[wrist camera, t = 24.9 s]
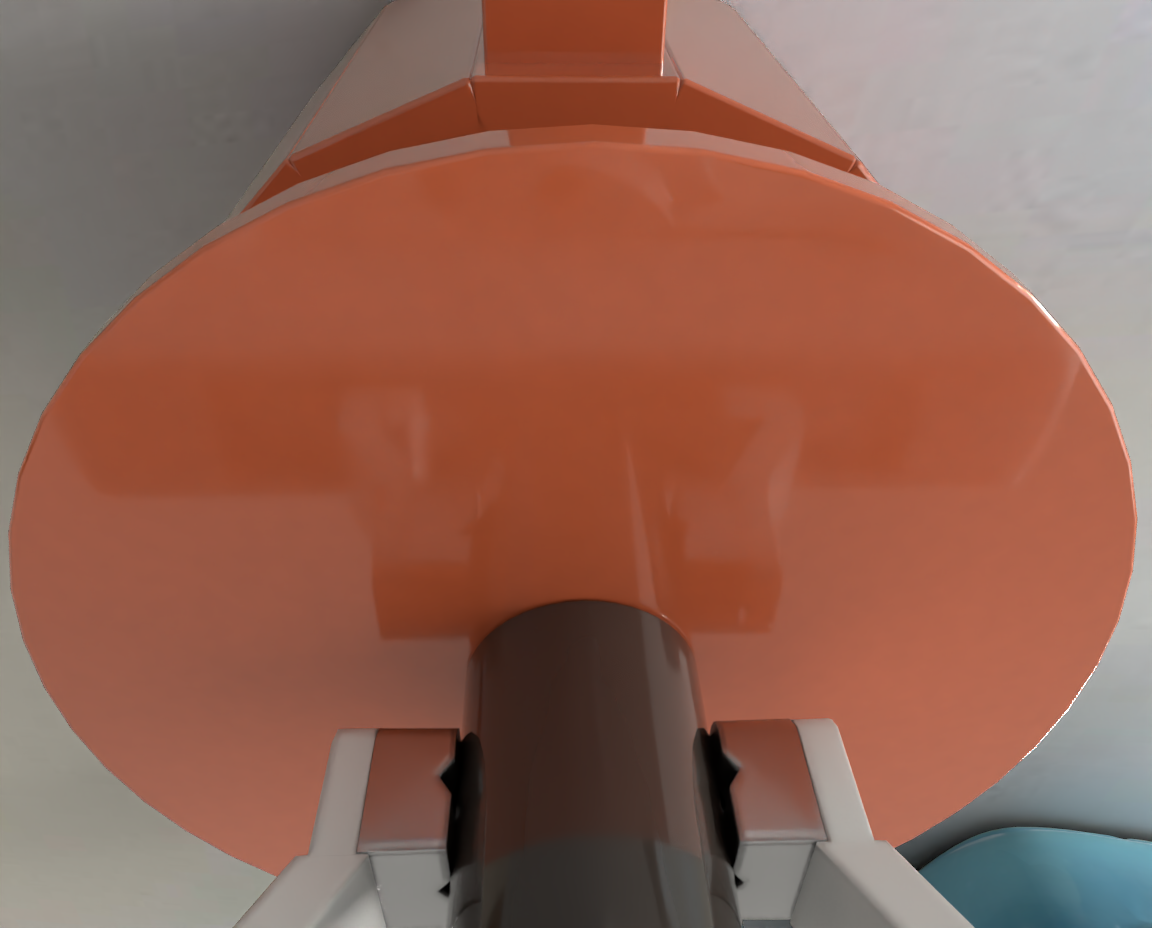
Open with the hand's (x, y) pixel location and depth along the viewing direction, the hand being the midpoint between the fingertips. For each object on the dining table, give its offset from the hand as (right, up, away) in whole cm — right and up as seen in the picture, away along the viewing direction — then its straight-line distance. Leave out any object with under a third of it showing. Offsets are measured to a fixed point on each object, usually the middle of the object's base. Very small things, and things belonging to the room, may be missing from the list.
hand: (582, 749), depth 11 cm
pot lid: (0, +1, +1) cm, 2 cm away
